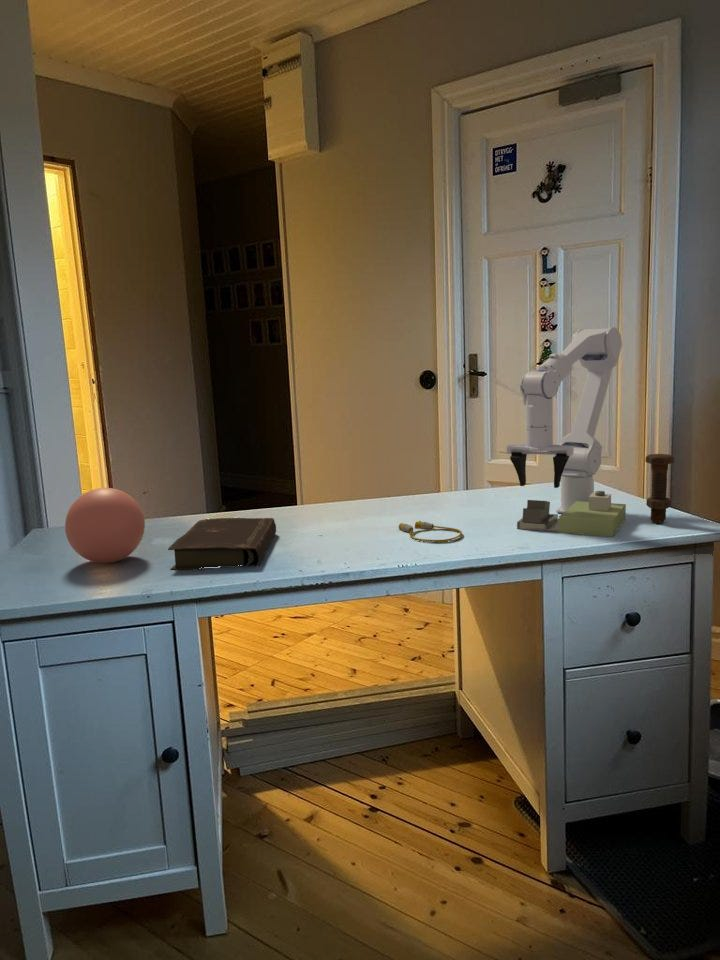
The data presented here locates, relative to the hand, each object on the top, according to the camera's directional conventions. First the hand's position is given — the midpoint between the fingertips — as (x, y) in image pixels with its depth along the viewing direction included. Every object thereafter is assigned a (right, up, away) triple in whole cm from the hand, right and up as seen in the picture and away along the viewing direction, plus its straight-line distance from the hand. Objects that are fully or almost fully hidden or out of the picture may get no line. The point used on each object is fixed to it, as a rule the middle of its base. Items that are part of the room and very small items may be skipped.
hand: (539, 486), depth 163 cm
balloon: (-92, -15, -11) cm, 94 cm away
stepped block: (-1, -8, -1) cm, 8 cm away
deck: (+11, -9, -3) cm, 14 cm away
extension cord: (-24, -11, -3) cm, 27 cm away
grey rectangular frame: (+1, -9, 0) cm, 9 cm away
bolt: (+25, -8, -3) cm, 27 cm away
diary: (-69, -14, -9) cm, 71 cm away
